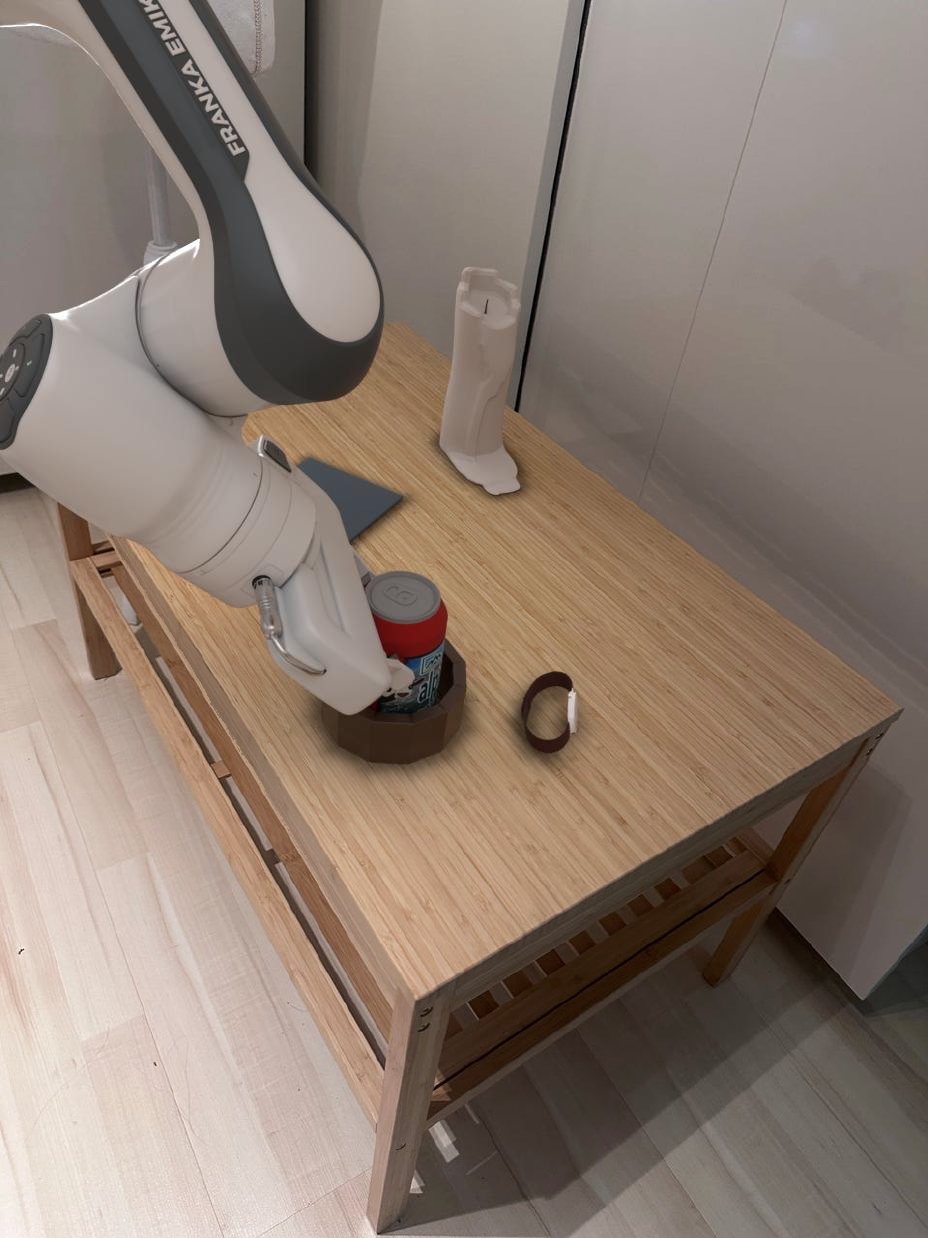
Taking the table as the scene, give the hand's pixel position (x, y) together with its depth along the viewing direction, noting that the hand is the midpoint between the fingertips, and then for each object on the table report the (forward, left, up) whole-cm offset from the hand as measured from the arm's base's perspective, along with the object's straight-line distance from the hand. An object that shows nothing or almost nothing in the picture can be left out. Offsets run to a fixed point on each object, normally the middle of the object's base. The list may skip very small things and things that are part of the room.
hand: (390, 632), depth 63 cm
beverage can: (+1, 0, -8) cm, 8 cm away
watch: (+12, +6, -8) cm, 16 cm away
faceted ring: (+1, 0, -8) cm, 8 cm away
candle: (-11, +38, -8) cm, 41 cm away
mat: (-20, +20, -8) cm, 30 cm away
